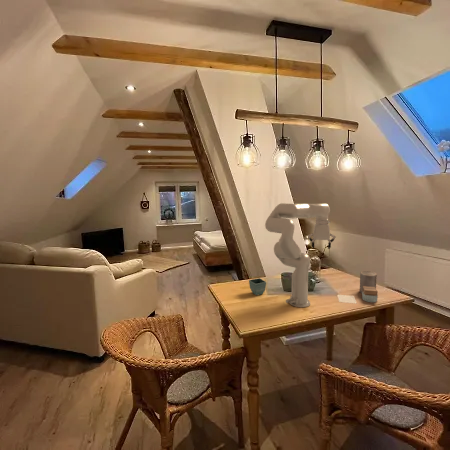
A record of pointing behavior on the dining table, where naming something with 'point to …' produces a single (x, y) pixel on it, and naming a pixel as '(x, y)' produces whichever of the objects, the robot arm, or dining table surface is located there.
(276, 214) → the robot arm
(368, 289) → the board
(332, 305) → the dining table surface
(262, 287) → the flower pot
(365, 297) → the bowl
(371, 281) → the pillar candle
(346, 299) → the mat
